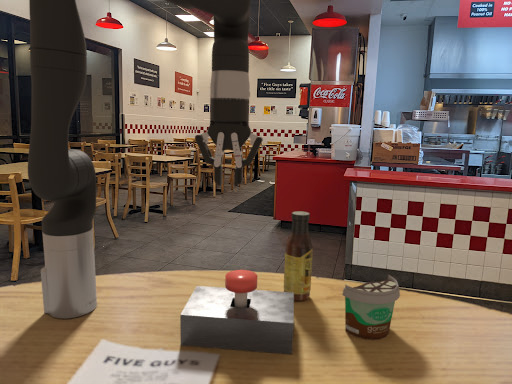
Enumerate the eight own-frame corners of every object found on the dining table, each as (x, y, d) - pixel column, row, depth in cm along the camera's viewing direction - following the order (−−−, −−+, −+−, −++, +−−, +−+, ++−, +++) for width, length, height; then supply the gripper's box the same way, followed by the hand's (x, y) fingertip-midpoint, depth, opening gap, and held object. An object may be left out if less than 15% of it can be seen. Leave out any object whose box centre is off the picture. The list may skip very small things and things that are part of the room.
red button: (222, 316, 71) (222, 281, 70) (227, 301, 77) (228, 268, 76) (254, 319, 71) (255, 283, 70) (257, 303, 77) (258, 270, 75)
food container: (361, 350, 70) (366, 298, 68) (339, 333, 75) (343, 284, 74) (409, 334, 76) (415, 286, 74) (385, 319, 81) (390, 274, 79)
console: (180, 345, 70) (180, 314, 69) (196, 312, 82) (196, 285, 80) (292, 354, 68) (293, 323, 67) (292, 319, 80) (293, 292, 79)
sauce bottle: (309, 304, 87) (314, 218, 83) (281, 300, 88) (285, 215, 84) (311, 291, 93) (315, 211, 89) (285, 288, 94) (288, 209, 91)
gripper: (188, 95, 72) (189, 187, 75) (264, 97, 70) (261, 190, 74) (198, 97, 79) (198, 181, 82) (267, 98, 78) (264, 184, 81)
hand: (228, 185), depth 78 cm, fingers open, 3 cm apart
